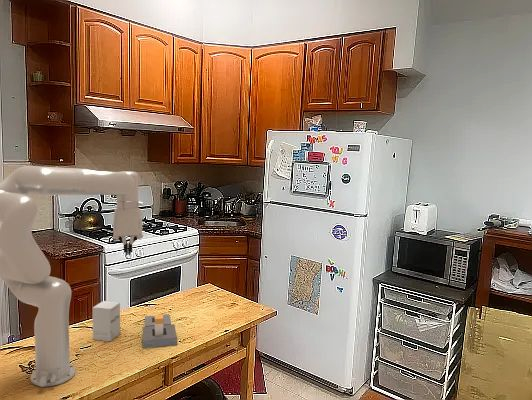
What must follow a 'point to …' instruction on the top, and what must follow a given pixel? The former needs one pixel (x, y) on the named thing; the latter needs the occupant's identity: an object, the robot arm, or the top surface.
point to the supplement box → (106, 320)
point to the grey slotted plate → (151, 319)
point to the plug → (158, 325)
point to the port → (159, 337)
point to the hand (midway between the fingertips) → (128, 254)
